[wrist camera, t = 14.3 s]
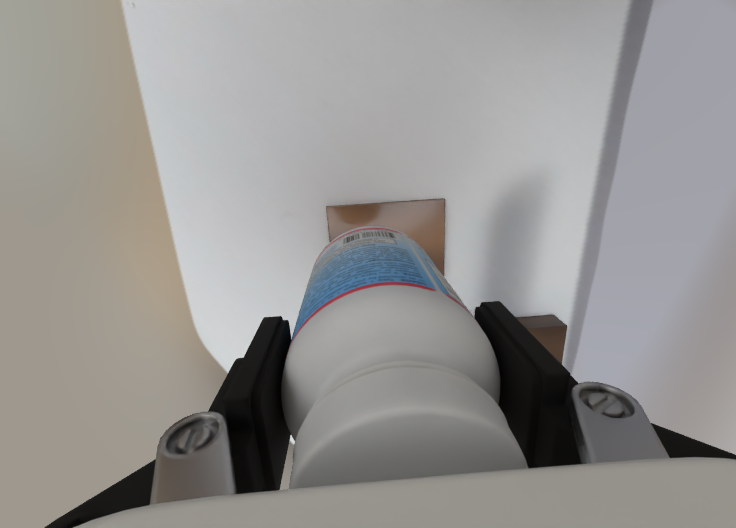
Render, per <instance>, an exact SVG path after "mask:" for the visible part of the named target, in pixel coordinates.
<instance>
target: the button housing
mask: <svg viewBox="0 0 736 528" xmlns="http://www.w3.org/2000/svg"><path fill="white" fill-rule="evenodd" d="M516 319H517V320H518V321H519V322H520V323H521V324H522V325H523V326H524V327H525V328H526V329H527V330H528V331H529V332H530V333H531V334H532V335H533V336H534V337H535V338H536V339H537V340H538V341H539V342H540V343H541V344H542V345H543V346H544V347H545V348H546V349H547V350H548V351H549V352H550V353H551V354H552V355H553V356H554V357H555V358H556V359H557V360H558V361H559V362H560V363H561V364H562V358H563V351H564V344H565V337H566V330H567V325H566V324H564V323H563V322H562V321H561V320H559V319H558V318H557V317H556V316H555V315H547V316H534V317H522V318H516Z"/></svg>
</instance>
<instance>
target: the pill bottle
mask: <svg viewBox="0 0 736 528" xmlns="http://www.w3.org/2000/svg"><path fill="white" fill-rule="evenodd" d="M499 398H500V372H499V367H498V362H497V359H496V356H495V353H494V350H493V348H492V346H491V343H490V341H489V340H488V338H487V336H486V334H485V333H484V332H483V330H482V329H481V327H480V325H479V324H478V322H477V321H476V320H475V318H474V317H473V316H472V314H471V313H470V312H469V310H468V309H467V307H466V306H465V305H464V304H463V302H462V301H461V299H460V298H459V297H458V295H457V294H456V293H455V291H454V290H453V289H452V287H451V286H450V284H449V283H448V282H447V280H446V279H445V278H444V276H443V275H442V274H441V272H440V271H439V270H438V268H437V267H436V266H435V264H434V263H433V261H432V260H431V259H430V257H429V256H428V255H427V253H426V252H425V251H424V250H423V248H422V247H421V246H420V245H419V244H418V243H417V242H416V241H415V240H413V239H412V238H411V237H409V236H408V235H406V234H404V233H402V232H400V231H398V230H395V229H392V228H388V227H382V226H365V227H359V228H355V229H352V230H350V231H347V232H345V233H343V234H341V235H339V236H338V237H336V238H335V239H334V240H332V241H331V242H330V243H329V244H328V245H327V246H326V247H325V248H324V249H323V251H322V252H321V253H320V255H319V256H318V258H317V260H316V262H315V265H314V267H313V270H312V273H311V276H310V279H309V282H308V285H307V289H306V292H305V295H304V299H303V302H302V305H301V308H300V311H299V316H298V319H297V322H296V326H295V329H294V333H293V336H292V340H291V343H290V346H289V350H288V353H287V356H286V360H285V365H284V370H283V375H282V381H281V402H282V409H283V413H284V418H285V421H286V423H287V426H288V429H289V431H290V433H291V435H292V437H293V439H294V440H295V444H294V450H293V467H292V472H291V478H290V485H289V489H298V488H309V487H320V486H330V485H341V484H352V483H363V482H374V481H385V480H397V479H408V478H420V477H431V476H443V475H455V474H466V473H478V472H490V471H502V470H515V469H527V468H528V466H527V463H526V459H525V457H524V455H523V453H522V451H521V449H520V447H519V445H518V443H517V441H516V439H515V437H514V435H513V434H512V432H511V430H510V428H509V427H508V423H507V420H506V418H505V416H504V414H503V412H502V410H501V409H500V407H499V406H498V403H499Z"/></svg>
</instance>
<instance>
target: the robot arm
mask: <svg viewBox="0 0 736 528" xmlns="http://www.w3.org/2000/svg"><path fill="white" fill-rule="evenodd" d="M475 320H476V321H477V322H478V324H479V325H480V327H481V329H482V330H483V332H484V333H485V334H486V336H487V338H488V340H489V341H490V343H491V346H492V348H493V350H494V353H495V356H496V359H497V362H498V367H499V372H500V398H499V403H498V406H499V407H500V409H501V410H502V412H503V414H504V416H505V418H506V420H507V423H508V427H509V428H510V430H511V432H512V434H513V435H514V437H515V439H516V441H517V443H518V445H519V447H520V449H521V451H522V453H523V455H524V457H525V459H526V463H527V466H528V468H527V469H515V470H502V471H490V472H478V473H466V474H455V475H443V476H431V477H420V478H408V479H397V480H385V481H374V482H363V483H352V484H341V485H330V486H320V487H309V488H298V489H287V490H279V489H280V484H281V479H282V474H283V469H284V464H285V460H286V454H287V450H288V444H289V440H290V435H291V433H290V431H289V429H288V426H287V423H286V421H285V418H284V413H283V409H282V402H281V381H282V375H283V370H284V365H285V360H286V356H287V353H288V350H289V346H290V343H291V334H290V327H289V322H288V320H283V319H282V317H281V316H278V317H264V318H263V320H262V322H261V324H260V326H259V328H258V330H257V332H256V334H255V336H254V338H253V340H252V342H251V344H250V346H249V348H248V350H247V352H246V354H245V356H244V358H238V359H236V360H235V362H234V364H233V365H232V367H231V369H230V371H229V373H228V375H227V377H226V379H225V380H224V382H223V384H222V386H221V388H220V390H219V392H218V394H217V395H216V397H215V399H214V401H213V403H212V405H211V407H210V409H209V411H208V412H200V413H195V414H192V415H190V416H187V417H185V418H183V419H181V420H180V421H178V422H176V423H175V424H173V425H172V426H171V427H170V428H169V429H168V430H166V432H165V433H164V434H163V436H162V437H161V438H160V441H159V444H158V448H157V455H156V459H155V460H154V461H152V462H150V463H149V464H147V465H145V466H144V467H142V468H141V469H139V470H137V471H136V472H134V473H132V474H131V475H129V476H127V477H126V478H124V479H122V480H121V481H119V482H117V483H116V484H114V485H112V486H111V487H109V488H108V489H106V490H104V491H103V492H101V493H100V494H98V495H96V496H94V497H93V498H91V499H89V500H88V501H86V502H84V503H83V504H82V505H80V506H78V507H76V508H75V509H73V510H71V511H70V512H68V513H66V514H65V515H63V516H61V517H60V518H58V519H57V520H55V521H54V522H52V523H51V524H49V525H48V526H46V527H45V528H736V455H735V454H732V453H729V452H726V451H724V450H721V449H718V448H716V447H713V446H711V445H708V444H705V443H702V442H700V441H697V440H695V439H691V438H689V437H686V436H684V435H681V434H679V433H676V432H673V431H671V430H668V429H665V428H662V427H660V426H657V425H655V424H652V423H650V421H649V419H648V417H647V416H646V414H645V412H644V410H643V408H642V407H641V405H640V404H639V403H638V401H637V400H636V399H634V398H633V397H632V396H631V395H629V394H628V393H626V392H624V391H622V390H620V389H619V388H616V387H613V386H610V385H607V384H603V383H598V382H584V383H578V382H577V381H575V379H574V378H573V377H572V376H571V375H570V373H569V372H568V371H567V370H566V369H565V368H564V367H563V366H562V364H561V363H560V362H559V361H558V360H557V359H556V358H555V357H554V356H553V355H552V354H551V353H550V352H549V351H548V350H547V349H546V348H545V347H544V346H543V345H542V344H541V343H540V342H539V341H538V340H537V339H536V338H535V337H534V336H533V335H532V334H531V333H530V332H529V331H528V330H527V329H526V328H525V327H524V326H523V325H522V324H521V323H520V322H519V321H518V320H517V319H516V318H515V317H514V316H513V315H512V314H511V313H510V311H509V310H508V309H507V308H506V307H505V306H504V305H503V304H502V303H501V302H499V301H495V302H482V303H481V305H480V307H476V309H475Z"/></svg>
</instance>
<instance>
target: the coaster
mask: <svg viewBox="0 0 736 528" xmlns="http://www.w3.org/2000/svg"><path fill="white" fill-rule="evenodd" d="M326 209H327V220H328V230H329V240H330V242H331V241H332V240H334V239H335V238H336V237H338V236H339V235H341V234H343V233H345V232H347V231H350V230H352V229H355V228H359V227H365V226H382V227H388V228H392V229H395V230H398V231H400V232H402V233H404V234H406V235H408V236H409V237H411V238H412V239H413V240H415V241H416V242H417V243H418V244H419V245H420V246H421V247H422V248H423V250H424V251H425V252H426V253H427V255H428V256H429V257H430V259H431V260H432V261H433V263H434V264H435V266H436V267H437V268H438V270H439V271H440V272H441V274H442V275H443V276H444V236H445V199H429V200H414V201H399V202H384V203H370V204H355V205H340V206H327V207H326Z"/></svg>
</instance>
